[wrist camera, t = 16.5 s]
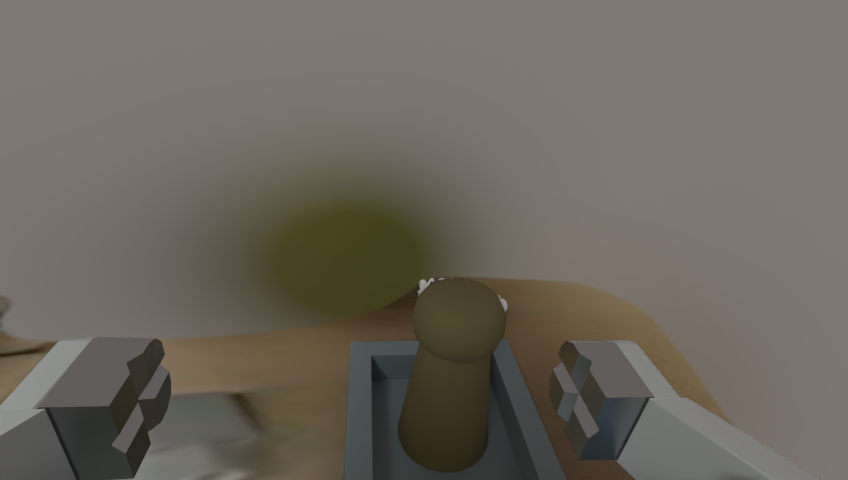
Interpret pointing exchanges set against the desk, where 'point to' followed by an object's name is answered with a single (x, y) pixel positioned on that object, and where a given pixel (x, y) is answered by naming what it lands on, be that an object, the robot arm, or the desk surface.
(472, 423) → the cork
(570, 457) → the desk surface
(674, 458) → the robot arm
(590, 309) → the desk surface
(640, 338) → the desk surface
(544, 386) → the desk surface
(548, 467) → the tray
